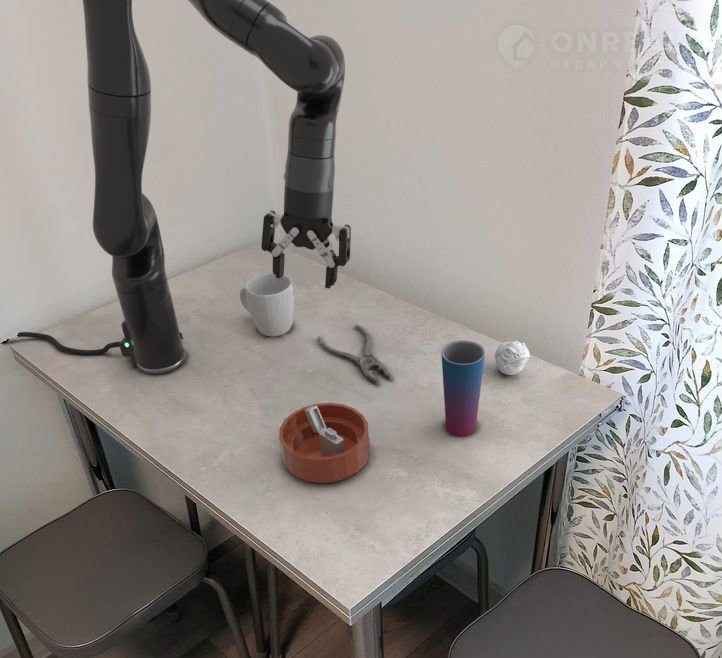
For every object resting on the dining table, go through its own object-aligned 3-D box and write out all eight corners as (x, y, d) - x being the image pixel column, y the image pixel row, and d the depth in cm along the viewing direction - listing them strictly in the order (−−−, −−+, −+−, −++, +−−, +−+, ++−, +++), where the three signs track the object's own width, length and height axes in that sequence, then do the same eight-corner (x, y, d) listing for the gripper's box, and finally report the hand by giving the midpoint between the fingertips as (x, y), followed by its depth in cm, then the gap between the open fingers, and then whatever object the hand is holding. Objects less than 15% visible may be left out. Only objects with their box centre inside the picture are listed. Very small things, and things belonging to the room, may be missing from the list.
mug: (306, 324, 164) (300, 280, 157) (276, 345, 159) (270, 300, 152) (259, 307, 170) (253, 264, 164) (230, 326, 165) (221, 283, 158)
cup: (437, 416, 139) (438, 342, 129) (476, 412, 139) (480, 338, 129) (444, 441, 134) (445, 366, 124) (484, 437, 134) (489, 362, 124)
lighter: (346, 459, 131) (342, 420, 126) (338, 464, 130) (334, 425, 125) (316, 440, 135) (311, 402, 130) (308, 445, 134) (303, 407, 129)
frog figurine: (505, 388, 144) (508, 355, 140) (486, 367, 149) (488, 335, 145) (535, 379, 146) (538, 346, 141) (515, 359, 151) (518, 327, 146)
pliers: (351, 319, 162) (417, 361, 150) (352, 323, 163) (417, 365, 151) (312, 337, 158) (377, 382, 146) (313, 341, 159) (377, 385, 146)
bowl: (270, 478, 129) (266, 452, 126) (299, 423, 140) (296, 398, 136) (356, 491, 126) (353, 465, 122) (379, 434, 136) (378, 408, 133)
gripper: (360, 184, 126) (351, 281, 135) (274, 168, 128) (271, 265, 137) (347, 197, 120) (338, 299, 129) (256, 181, 122) (254, 281, 131)
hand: (304, 281), depth 133 cm, fingers open, 8 cm apart
